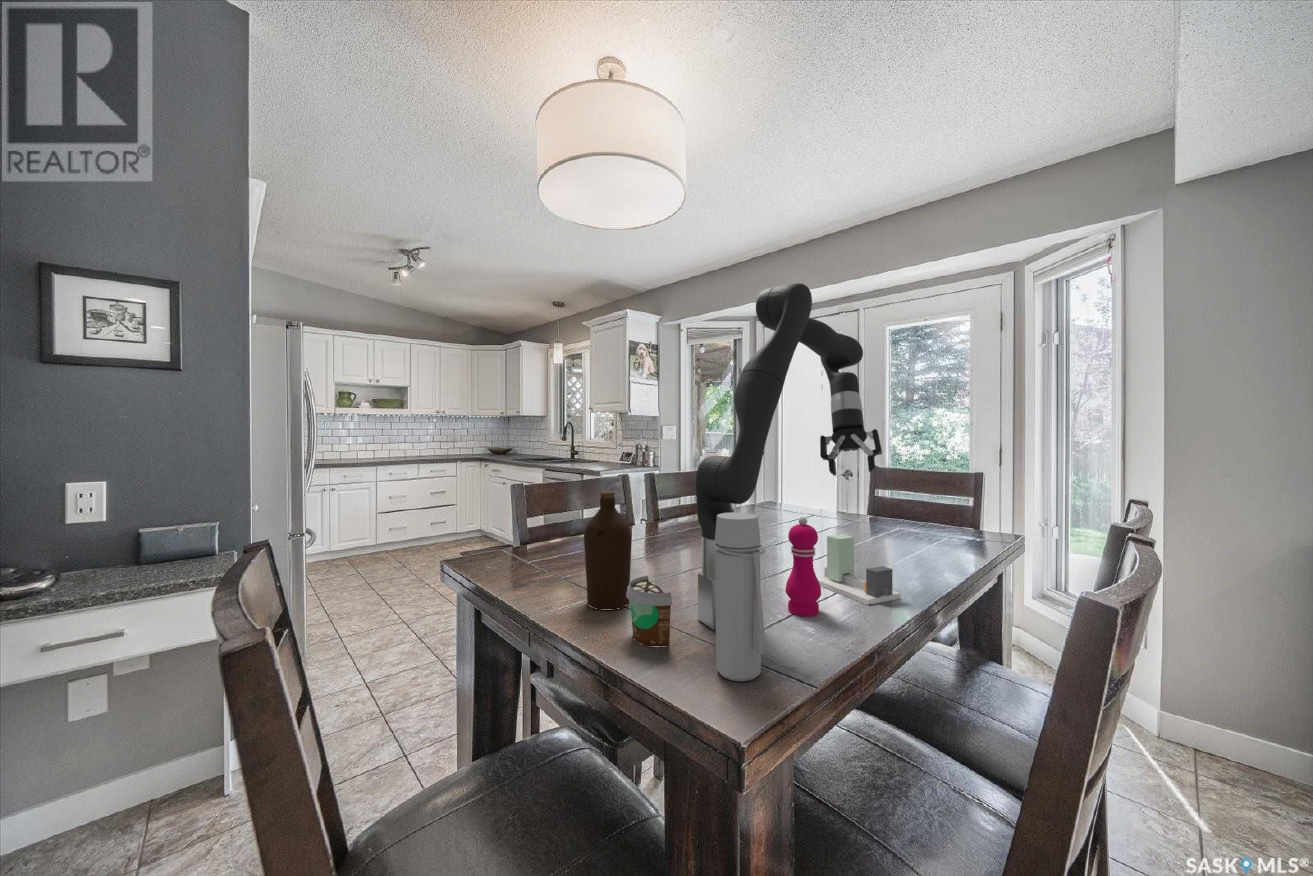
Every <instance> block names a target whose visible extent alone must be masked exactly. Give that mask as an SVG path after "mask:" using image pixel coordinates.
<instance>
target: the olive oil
mask: <svg viewBox="0 0 1313 876" xmlns="http://www.w3.org/2000/svg"><path fill="white" fill-rule="evenodd" d="M599 493H600V494H599V495H600V497H599V506H600V507H599V509H598V511H597V512H596V513H595V514H594V515H593V516H592V517H591V519H589V521H588V522H587V524H586V526H585V529H584V532H583V546H584V561H585V576H586V578H585V579H586V601H587V603H586V604H587V605H588V604H589V605H590V606H592V607H594V608H597V609H617V608H621V607H623V606H625V605H627V604H628V605H630V600H629V599H628V598H627V597H626V593H627V588H628V586H629V583H630V581H631V565H632V564H631V562H632V560H631V559H632V541H633V540H632V539H633V538H632V537H633V535H632V530H631V526H630V524H629V522H628V521H627V520H626V518H625V517H623V515H622V514H620V512H619V511H618V510H617V509H616V497H615V495H616V494H615V493H616V492H615V491H613V490H605V491H601V492H599ZM628 605H627V606H628ZM621 609H622V608H621ZM617 610H618V609H617Z"/></svg>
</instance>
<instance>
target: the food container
mask: <svg viewBox="0 0 1313 876" xmlns="http://www.w3.org/2000/svg"><path fill="white" fill-rule="evenodd" d="M626 597H627V598H628V599H629V600H630V602H629V605H630V616H631V617H630V618H631V626H632V628H631V629H632V639H633V638H634V639H635V641H637V642H639V643H641V644H643V645H646V646H660V647H661V646H669V647H670V639H671V638H670V637H671V636H670V635H671V634H670V633H671V606H673V599H672V597H673V596H672V592H664V591H663V590H662V589H661V587H659V586H658V585H656V584H654V583H653V582H651V581H650V579H649V575H643V576H638V577H636V578H633V579H631V580H630V583H629V586H628V588H627V593H626ZM635 641H634V642H635ZM643 645H642V646H643ZM646 646H645V647H646ZM661 648H662V647H661Z"/></svg>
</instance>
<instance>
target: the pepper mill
mask: <svg viewBox="0 0 1313 876" xmlns="http://www.w3.org/2000/svg"><path fill="white" fill-rule="evenodd" d="M787 537H788V541H789V543H790V544H791V546H790V550H791V551H790V554H791V555H792V557H793V559H792V560H793V561H792V564H793V565H792V568H791V572H790V574H789V577H788V578H787V580H786V584H785V593H786V595H787V597H788V598H789V600H788V601H787V610H788V612H789V613H791V614H792V615H795V616H799V617H814V616H817V615H818V614H819V613H820V607H819V606H820V604H819V603H818V600H819V599H820V598H821V596H822V587H821V586H820V584H819V581H818V579H817V578H818V577H817V575H816V572H815V568H814V556H816V548H815V545H817V543H818V540H819V535H818V532H817V530H816V529H815V528H814V527H813V526H811V525H809V524H808V519H807V517H805V516H801V517H800V518H798V524H795V525H793V526H792V527H791V528H790V529H789V531H788V536H787Z"/></svg>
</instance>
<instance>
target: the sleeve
mask: <svg viewBox="0 0 1313 876" xmlns="http://www.w3.org/2000/svg"><path fill="white" fill-rule="evenodd" d="M826 567H827V578H829V579H832V580H835V581H837V582H843V574H849V575H852V576H855V537H853V536H851V535H846V534H843V533H840V534H833V535H832V534H831V535H827V536H826Z"/></svg>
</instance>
